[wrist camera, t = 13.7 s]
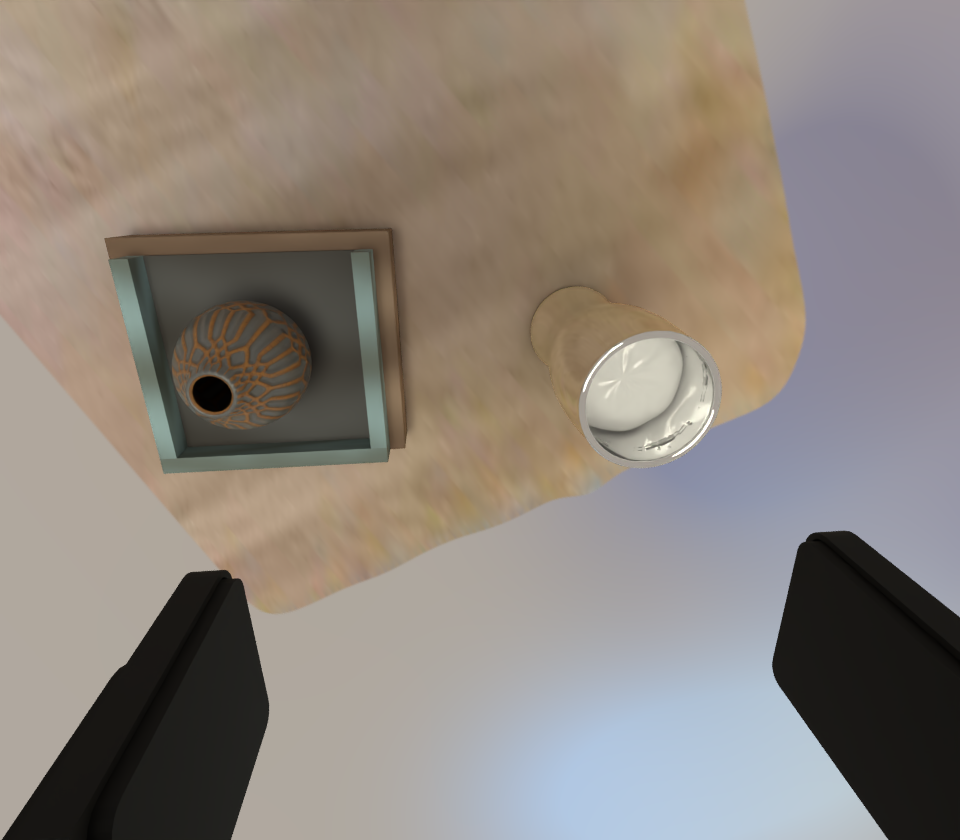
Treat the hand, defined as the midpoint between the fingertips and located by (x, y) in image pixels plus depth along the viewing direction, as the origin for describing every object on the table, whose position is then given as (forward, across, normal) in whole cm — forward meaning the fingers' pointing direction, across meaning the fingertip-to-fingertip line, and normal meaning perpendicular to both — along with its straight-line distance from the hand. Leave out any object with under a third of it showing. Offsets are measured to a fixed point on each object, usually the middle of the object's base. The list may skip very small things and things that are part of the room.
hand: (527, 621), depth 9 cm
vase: (+27, +12, +2) cm, 30 cm away
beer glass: (+31, -8, +2) cm, 32 cm away
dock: (+30, +12, +2) cm, 33 cm away
